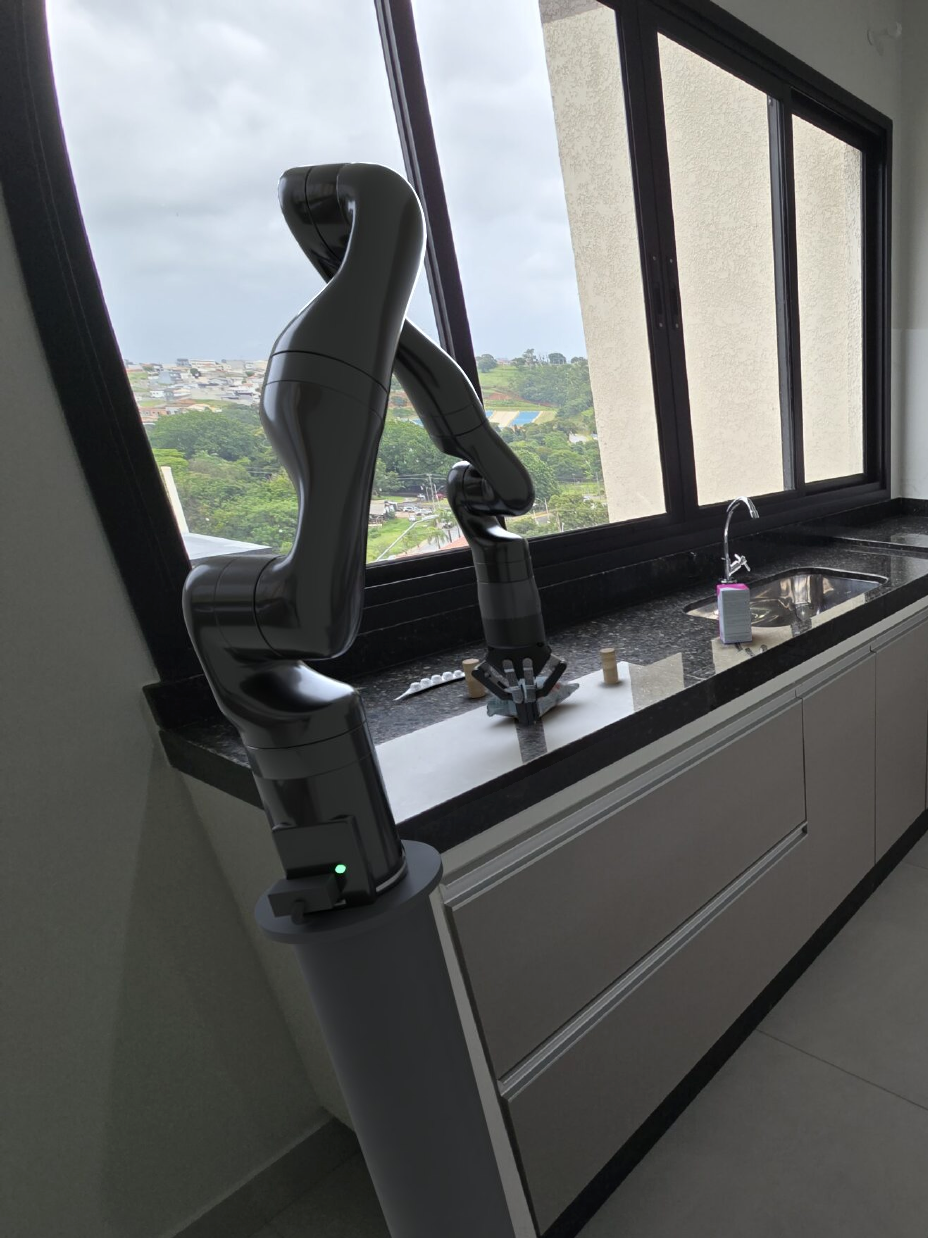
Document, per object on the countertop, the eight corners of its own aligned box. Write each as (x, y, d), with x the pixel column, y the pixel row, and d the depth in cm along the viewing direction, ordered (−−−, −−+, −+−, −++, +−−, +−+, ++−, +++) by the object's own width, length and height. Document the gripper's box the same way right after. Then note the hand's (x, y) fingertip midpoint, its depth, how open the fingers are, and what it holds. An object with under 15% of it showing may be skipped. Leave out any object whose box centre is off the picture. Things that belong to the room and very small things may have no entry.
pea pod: (469, 670, 133) (467, 662, 133) (484, 675, 131) (483, 667, 131) (381, 697, 121) (378, 688, 121) (396, 703, 119) (394, 694, 118)
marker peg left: (484, 697, 122) (477, 662, 120) (467, 698, 121) (460, 664, 119) (486, 691, 124) (480, 658, 122) (470, 693, 123) (463, 659, 121)
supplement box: (753, 643, 151) (749, 588, 147) (724, 646, 148) (719, 591, 144) (747, 635, 156) (744, 582, 152) (719, 638, 153) (714, 584, 149)
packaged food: (581, 699, 121) (577, 671, 120) (537, 729, 110) (531, 698, 109) (533, 696, 123) (528, 668, 121) (485, 725, 112) (478, 695, 110)
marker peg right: (618, 684, 128) (614, 651, 126) (604, 685, 128) (599, 652, 125) (619, 679, 130) (615, 647, 128) (604, 680, 130) (600, 648, 128)
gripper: (451, 619, 98) (475, 739, 104) (559, 613, 102) (576, 728, 107) (463, 606, 104) (485, 719, 110) (565, 600, 108) (580, 709, 114)
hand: (530, 723), depth 109 cm, fingers closed
